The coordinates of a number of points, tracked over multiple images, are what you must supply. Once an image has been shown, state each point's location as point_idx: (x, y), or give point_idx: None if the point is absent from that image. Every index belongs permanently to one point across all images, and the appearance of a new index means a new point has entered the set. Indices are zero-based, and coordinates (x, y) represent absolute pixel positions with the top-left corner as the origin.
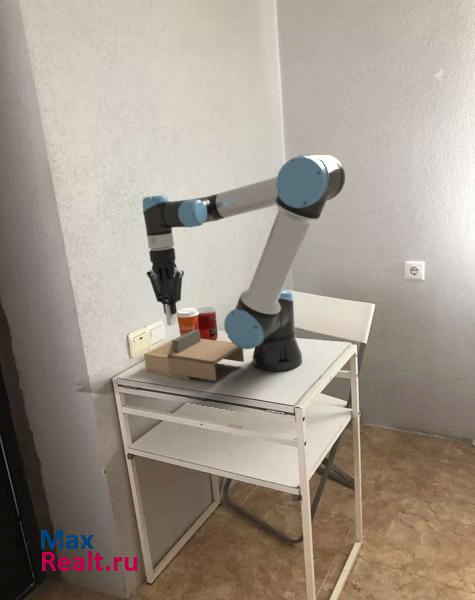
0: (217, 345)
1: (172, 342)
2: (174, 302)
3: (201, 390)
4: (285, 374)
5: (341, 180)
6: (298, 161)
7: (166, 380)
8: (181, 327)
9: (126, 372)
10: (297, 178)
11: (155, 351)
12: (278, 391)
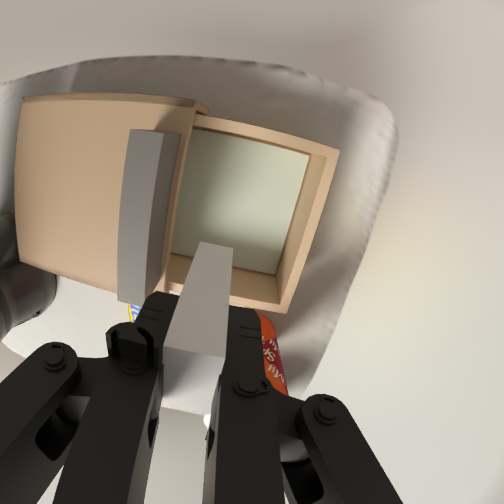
0: (62, 237)
1: (280, 298)
2: (62, 346)
3: (88, 63)
4: None
5: None
6: None
7: (213, 88)
8: (265, 370)
9: (381, 141)
10: None
11: (311, 201)
12: None
